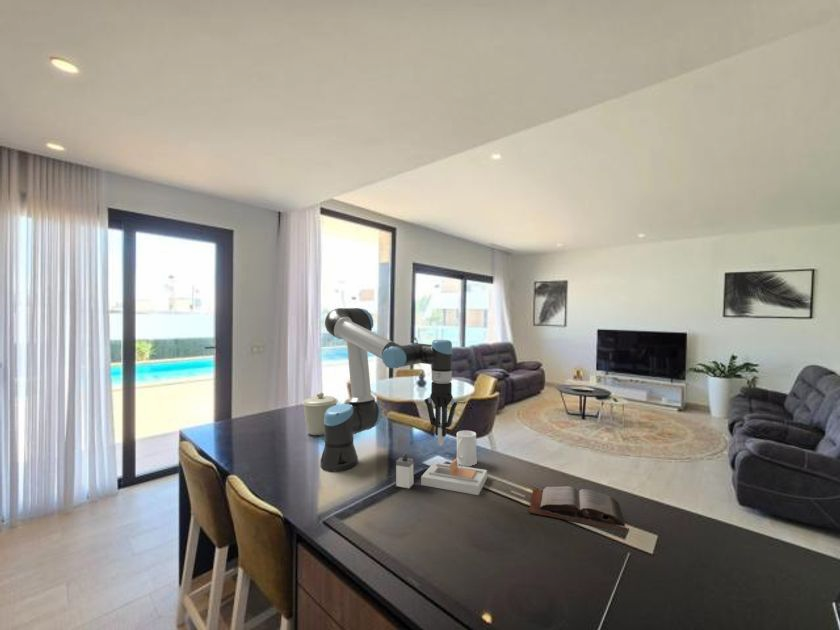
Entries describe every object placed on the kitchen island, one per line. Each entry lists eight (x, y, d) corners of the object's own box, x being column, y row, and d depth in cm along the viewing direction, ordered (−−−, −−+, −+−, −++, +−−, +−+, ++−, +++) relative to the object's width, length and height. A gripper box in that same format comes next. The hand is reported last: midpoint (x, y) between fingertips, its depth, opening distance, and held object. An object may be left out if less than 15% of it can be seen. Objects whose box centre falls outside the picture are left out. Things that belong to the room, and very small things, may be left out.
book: (632, 536, 103) (632, 520, 103) (528, 514, 113) (528, 499, 114) (622, 506, 122) (622, 492, 122) (533, 489, 132) (533, 476, 132)
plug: (396, 486, 133) (396, 455, 132) (401, 481, 136) (400, 451, 136) (409, 488, 131) (408, 457, 131) (413, 483, 134) (413, 453, 134)
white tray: (421, 484, 133) (421, 474, 133) (434, 469, 146) (434, 460, 146) (478, 495, 125) (478, 484, 125) (487, 478, 138) (487, 468, 138)
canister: (333, 438, 184) (333, 396, 184) (297, 438, 184) (296, 396, 184) (341, 427, 202) (341, 388, 202) (308, 427, 202) (308, 388, 202)
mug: (465, 471, 145) (464, 440, 144) (447, 465, 150) (447, 436, 150) (480, 461, 154) (480, 432, 153) (463, 456, 159) (463, 428, 159)
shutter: (449, 476, 133) (449, 464, 133) (455, 469, 139) (455, 457, 139) (471, 480, 130) (471, 468, 130) (476, 472, 136) (476, 461, 136)
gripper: (421, 381, 136) (420, 445, 137) (455, 385, 131) (454, 450, 132) (428, 378, 143) (428, 438, 144) (461, 381, 138) (460, 443, 139)
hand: (440, 444), depth 138 cm, fingers closed
